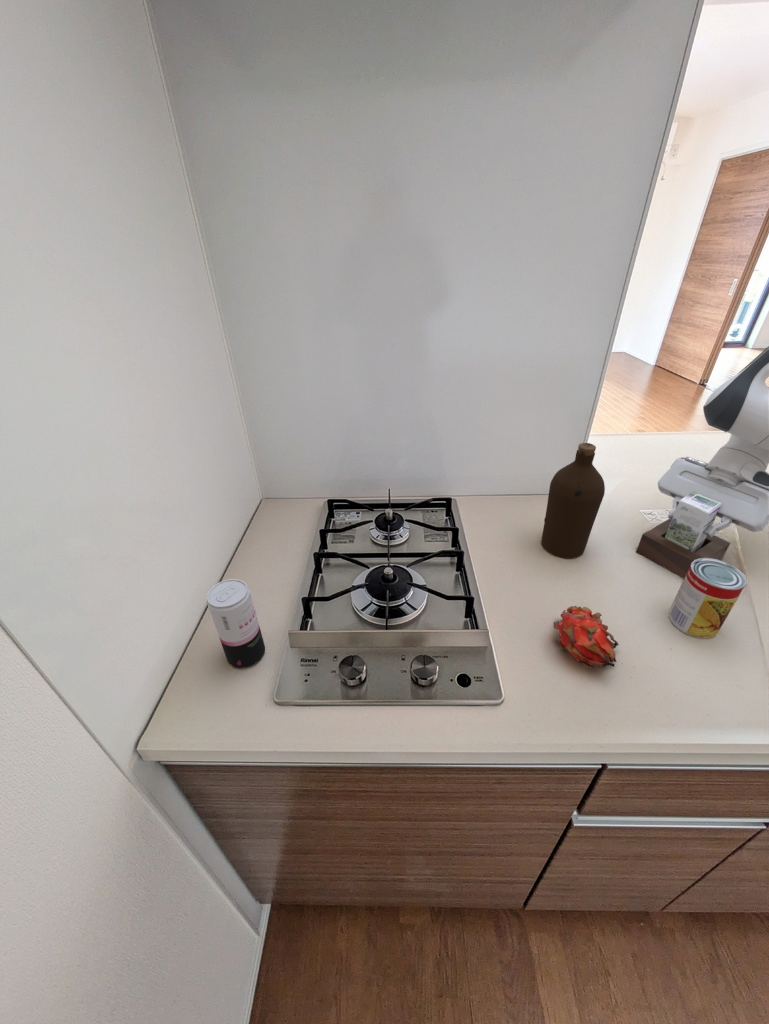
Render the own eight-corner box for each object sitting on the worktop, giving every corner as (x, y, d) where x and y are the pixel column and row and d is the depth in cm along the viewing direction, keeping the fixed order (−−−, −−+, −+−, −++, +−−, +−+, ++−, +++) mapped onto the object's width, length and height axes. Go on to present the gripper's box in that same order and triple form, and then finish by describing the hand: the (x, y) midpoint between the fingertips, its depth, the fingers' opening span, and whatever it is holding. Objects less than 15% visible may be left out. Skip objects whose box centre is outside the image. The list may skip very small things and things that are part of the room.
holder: (665, 533, 102) (673, 516, 100) (721, 561, 94) (730, 542, 91) (635, 552, 97) (642, 534, 94) (691, 582, 89) (700, 563, 86)
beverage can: (219, 659, 76) (196, 597, 68) (247, 634, 80) (229, 573, 72) (246, 676, 73) (225, 613, 65) (273, 648, 78) (257, 586, 69)
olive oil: (597, 557, 96) (629, 454, 82) (551, 563, 95) (576, 460, 81) (571, 529, 105) (596, 432, 91) (530, 535, 103) (549, 437, 89)
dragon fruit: (558, 627, 82) (600, 685, 73) (533, 621, 77) (576, 683, 68) (593, 598, 78) (641, 656, 70) (569, 590, 73) (618, 651, 65)
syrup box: (697, 558, 95) (724, 501, 87) (683, 568, 92) (709, 511, 84) (670, 545, 99) (693, 490, 91) (656, 554, 96) (679, 499, 88)
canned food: (728, 632, 78) (758, 582, 71) (693, 643, 76) (721, 593, 69) (691, 602, 84) (715, 553, 77) (658, 611, 82) (680, 563, 76)
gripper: (678, 447, 95) (638, 498, 96) (791, 486, 80) (742, 546, 81) (682, 460, 99) (644, 509, 100) (789, 499, 85) (743, 556, 86)
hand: (689, 526), depth 91 cm, fingers closed on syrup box, 6 cm apart
